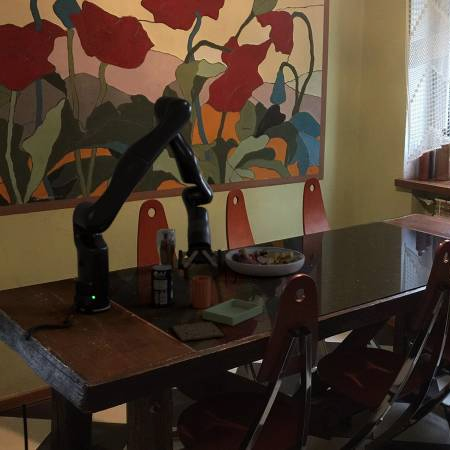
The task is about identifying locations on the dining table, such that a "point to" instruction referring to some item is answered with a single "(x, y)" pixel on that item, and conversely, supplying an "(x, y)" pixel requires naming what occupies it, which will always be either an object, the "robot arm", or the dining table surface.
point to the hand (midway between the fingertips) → (201, 279)
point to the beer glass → (166, 247)
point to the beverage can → (161, 285)
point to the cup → (201, 291)
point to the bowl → (264, 261)
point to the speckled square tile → (197, 331)
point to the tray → (232, 312)
